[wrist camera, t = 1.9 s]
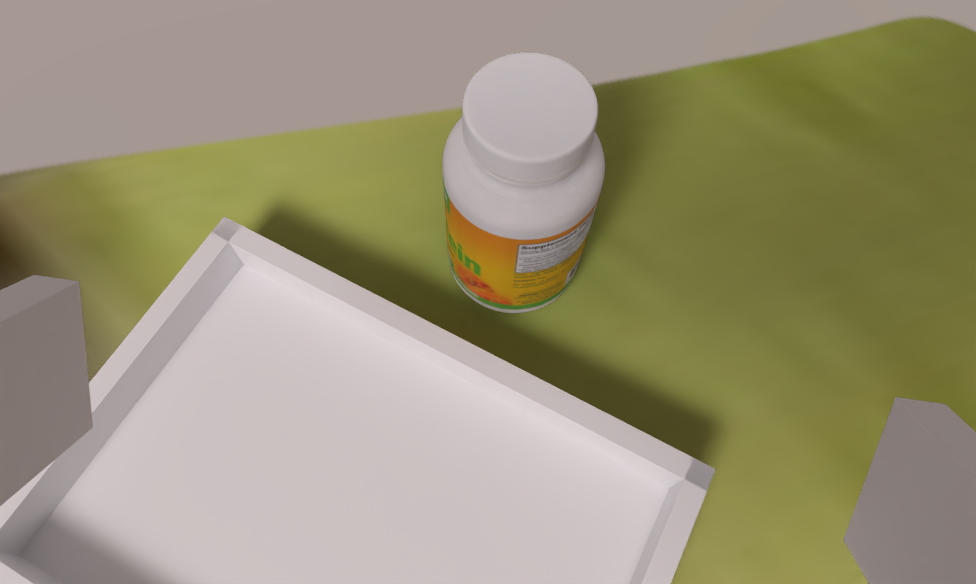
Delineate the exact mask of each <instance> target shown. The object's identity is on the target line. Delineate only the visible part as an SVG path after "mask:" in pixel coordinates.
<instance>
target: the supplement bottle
mask: <svg viewBox="0 0 976 584" xmlns="http://www.w3.org/2000/svg"><path fill="white" fill-rule="evenodd" d="M597 118H598V102H597V98H596V94H595V92H594V90H593V87H592V85H591V84H590V82H589V81H588V79H587V78H586V77H585V76H584V75H583V74H582V73H581V72H580V71H579V70H578V69H577V68H575V67H574V66H573V65H571V64H570V63H568V62H566V61H564V60H562V59H559V58H557V57H554V56H550V55H547V54H542V53H530V52H523V53H514V54H510V55H506V56H502V57H500V58H497V59H495V60H493V61H491V62H489V63H488V64H486V65H485V66H483V67H482V68H481V69H480V70H479V71H478V72H477V73H476V74H475V75H474V76H473V78H472V79H471V81H470V82H469V84H468V86H467V88H466V91H465V94H464V98H463V106H462V118H461V119H459V121H458V122H457V123H456V124H455V126H454V127H453V129H452V131H451V133H450V135H449V137H448V139H447V142H446V145H445V149H444V153H443V184H444V199H445V213H446V229H447V246H448V258H449V264H450V268H451V271H452V274H453V276H454V278H455V280H456V282H457V283H458V285H459V286H460V288H461V289H462V290H463V291H464V292H465V293H466V294H467V295H468V296H469V297H470V298H471V299H473V300H474V301H475V302H477V303H479V304H480V305H482V306H484V307H486V308H489V309H492V310H495V311H499V312H505V313H523V312H529V311H534V310H537V309H540V308H542V307H544V306H546V305H548V304H550V303H552V302H553V301H554V300H556V299H557V298H558V297H559V296H560V295H561V294H562V293H563V292H564V291H565V290H566V289H567V287H568V286H569V285H570V283H571V281H572V280H573V277H574V275H575V273H576V270H577V268H578V265H579V262H580V258H581V255H582V252H583V248H584V245H585V242H586V239H587V235H588V232H589V229H590V226H591V223H592V219H593V216H594V213H595V209H596V206H597V203H598V199H599V196H600V194H601V189H602V185H603V180H604V174H605V158H604V153H603V149H602V146H601V142H600V140H599V138H598V136H597V134H596V132H595V128H596V123H597Z"/></svg>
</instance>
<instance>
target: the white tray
mask: <svg viewBox="0 0 976 584" xmlns="http://www.w3.org/2000/svg"><path fill="white" fill-rule="evenodd" d="M89 390H90V400H91V411H92V421H93V428H92V429H90V430H89V431H88V432H87V433H86V434H85V435H83V436H82V437H81V438H80V439H79V440H78V441H76V442H75V443H74V444H73V445H72V446H71V447H69V448H68V449H67V450H66V451H65V452H63V453H62V454H61V455H60V456H59V457H58V458H56V459H55V460H54V461H53V462H52V463H51V464H49V465H48V466H47V467H46V468H45V469H44V470H42V471H41V472H40V473H39V474H38V475H37V476H35V477H34V478H33V479H32V480H31V481H29V482H28V483H27V484H26V485H25V486H24V487H22V488H21V489H20V490H19V491H18V492H17V493H15V494H14V495H13V496H12V497H11V498H10V499H8V500H7V501H6V502H5V503H4V504H2V505H1V506H0V584H671V581H672V579H673V576H674V574H675V571H676V569H677V566H678V564H679V561H680V559H681V556H682V553H683V551H684V548H685V546H686V543H687V541H688V538H689V536H690V533H691V531H692V528H693V525H694V523H695V520H696V518H697V515H698V513H699V510H700V508H701V505H702V503H703V500H704V497H705V495H706V492H707V490H708V487H709V485H710V482H711V480H712V477H713V475H714V472H715V469H714V468H712V467H710V466H709V465H707V464H705V463H703V462H701V461H699V460H697V459H695V458H693V457H691V456H689V455H687V454H685V453H683V452H681V451H679V450H677V449H675V448H674V447H672V446H670V445H668V444H666V443H664V442H662V441H660V440H658V439H656V438H654V437H652V436H650V435H648V434H646V433H644V432H642V431H640V430H638V429H637V428H635V427H633V426H631V425H629V424H627V423H625V422H623V421H621V420H619V419H617V418H615V417H613V416H611V415H609V414H607V413H605V412H603V411H602V410H600V409H598V408H596V407H594V406H592V405H590V404H588V403H586V402H584V401H582V400H580V399H578V398H576V397H574V396H572V395H570V394H568V393H567V392H565V391H563V390H561V389H559V388H557V387H555V386H553V385H551V384H549V383H547V382H545V381H543V380H541V379H539V378H537V377H535V376H533V375H531V374H530V373H528V372H526V371H524V370H522V369H520V368H518V367H516V366H514V365H512V364H510V363H508V362H506V361H504V360H502V359H500V358H498V357H496V356H495V355H493V354H491V353H489V352H487V351H485V350H483V349H481V348H479V347H477V346H475V345H473V344H471V343H469V342H467V341H465V340H463V339H461V338H459V337H458V336H456V335H454V334H452V333H450V332H448V331H446V330H444V329H442V328H440V327H438V326H436V325H434V324H432V323H430V322H428V321H426V320H424V319H423V318H421V317H419V316H417V315H415V314H413V313H411V312H409V311H407V310H405V309H403V308H401V307H399V306H397V305H395V304H393V303H391V302H389V301H387V300H386V299H384V298H382V297H380V296H378V295H376V294H374V293H372V292H370V291H368V290H366V289H364V288H362V287H360V286H358V285H356V284H354V283H352V282H351V281H349V280H347V279H345V278H343V277H341V276H339V275H337V274H335V273H333V272H331V271H329V270H327V269H325V268H323V267H321V266H319V265H317V264H316V263H314V262H312V261H310V260H308V259H306V258H304V257H302V256H300V255H298V254H296V253H294V252H292V251H290V250H288V249H286V248H284V247H282V246H280V245H279V244H277V243H275V242H273V241H271V240H269V239H267V238H265V237H263V236H261V235H259V234H257V233H255V232H253V231H251V230H249V229H247V228H245V227H244V226H242V225H240V224H238V223H236V222H234V221H232V220H230V219H228V218H226V217H223V219H222V220H221V221H220V222H219V224H218V225H217V226H216V227H215V228H214V230H213V231H212V232H211V233H210V235H209V236H208V237H207V238H206V240H205V241H204V242H203V243H202V245H201V246H200V247H199V248H198V249H197V251H196V252H195V253H194V254H193V256H192V257H191V258H190V259H189V261H188V262H187V263H186V264H185V266H184V267H183V268H182V269H181V270H180V272H179V273H178V274H177V275H176V277H175V278H174V279H173V280H172V282H171V283H170V284H169V285H168V286H167V288H166V289H165V290H164V291H163V293H162V294H161V295H160V296H159V298H158V299H157V300H156V301H155V303H154V304H153V305H152V306H151V307H150V309H149V310H148V311H147V312H146V314H145V315H144V316H143V317H142V319H141V320H140V321H139V322H138V323H137V325H136V326H135V327H134V328H133V330H132V331H131V332H130V333H129V335H128V336H127V337H126V338H125V340H124V341H123V342H122V343H121V344H120V346H119V347H118V348H117V349H116V351H115V352H114V353H113V354H112V356H111V357H110V358H109V359H108V361H107V362H106V363H105V364H104V365H103V367H102V368H101V369H100V370H99V372H98V373H97V374H96V375H95V377H94V378H93V379H92V380H91V381H90V383H89Z"/></svg>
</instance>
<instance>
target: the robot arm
mask: <svg viewBox="0 0 976 584" xmlns="http://www.w3.org/2000/svg"><path fill="white" fill-rule="evenodd" d="M92 428H93V421H92V411H91V400H90V390H89V379H88V369H87V358H86V348H85V338H84V327H83V317H82V306H81V296H80V285H79V281H74V280H66V279H59V278H52V277H45V276H38V275H32V276H30V277H28V278H26V279H24V280H21V281H19V282H17V283H15V284H13V285H11V286H8V287H6V288H4V289H2V290H0V506H1V505H2V504H4V503H5V502H6V501H7V500H8V499H10V498H11V497H12V496H13V495H14V494H15V493H17V492H18V491H19V490H20V489H21V488H22V487H24V486H25V485H26V484H27V483H28V482H29V481H31V480H32V479H33V478H34V477H35V476H37V475H38V474H39V473H40V472H41V471H42V470H44V469H45V468H46V467H47V466H48V465H49V464H51V463H52V462H53V461H54V460H55V459H56V458H58V457H59V456H60V455H61V454H62V453H63V452H65V451H66V450H67V449H68V448H69V447H71V446H72V445H73V444H74V443H75V442H76V441H78V440H79V439H80V438H81V437H82V436H83V435H85V434H86V433H87V432H88V431H89V430H90V429H92ZM844 542H845V543H846V545H847V547H848V549H849V550H850V552H851V554H852V555H853V557H854V559H855V561H856V562H857V564H858V566H859V568H860V569H861V571H862V573H863V574H864V576H865V578H866V580H867V581H868V583H869V584H976V432H975V431H974V430H973V429H972V428H971V427H970V426H968V425H967V424H966V423H965V422H964V421H963V420H962V419H961V418H960V417H959V416H958V415H957V414H956V413H955V412H953V411H952V410H951V409H950V408H949V407H948V406H947V405H946V404H941V403H934V402H926V401H919V400H912V399H905V398H898V397H895V400H894V403H893V406H892V408H891V411H890V414H889V417H888V419H887V422H886V425H885V428H884V430H883V433H882V436H881V438H880V441H879V444H878V447H877V449H876V452H875V455H874V458H873V460H872V463H871V466H870V469H869V471H868V474H867V477H866V480H865V482H864V485H863V488H862V491H861V493H860V496H859V499H858V502H857V504H856V507H855V510H854V512H853V515H852V518H851V521H850V523H849V526H848V529H847V532H846V534H845V537H844Z"/></svg>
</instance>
